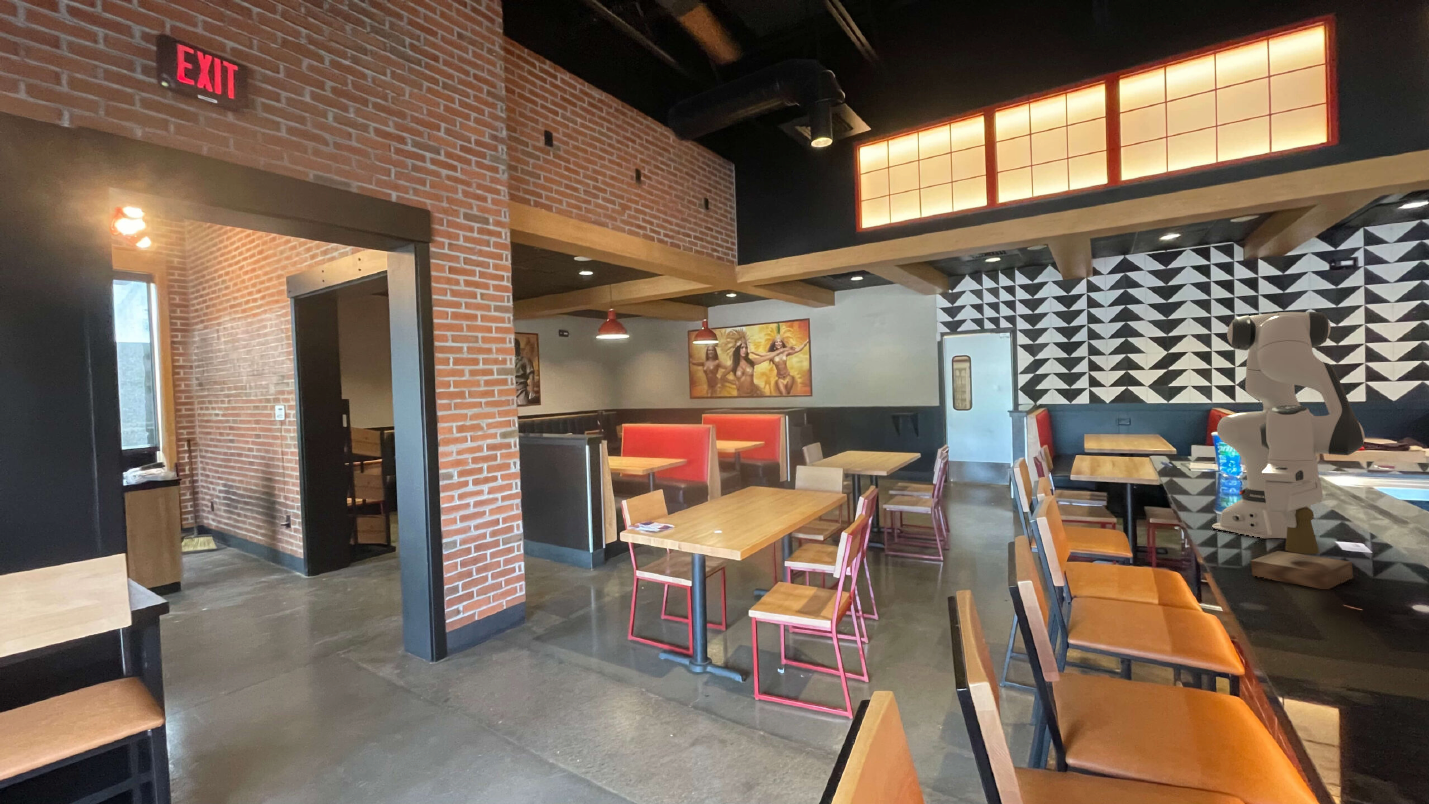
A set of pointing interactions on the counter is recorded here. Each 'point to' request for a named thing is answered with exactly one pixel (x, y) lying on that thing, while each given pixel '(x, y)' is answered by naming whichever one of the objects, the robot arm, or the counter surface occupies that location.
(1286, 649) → the counter surface
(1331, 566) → the walnut riser block
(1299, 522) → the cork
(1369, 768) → the counter surface
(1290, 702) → the counter surface
